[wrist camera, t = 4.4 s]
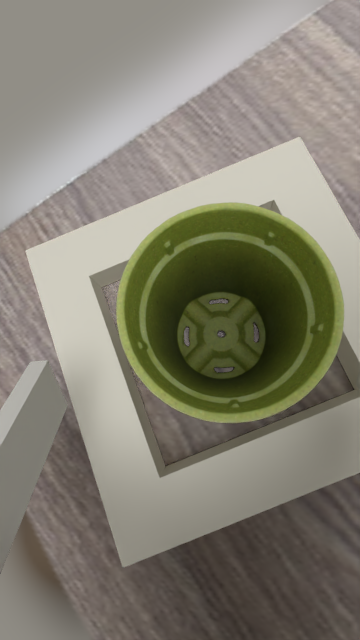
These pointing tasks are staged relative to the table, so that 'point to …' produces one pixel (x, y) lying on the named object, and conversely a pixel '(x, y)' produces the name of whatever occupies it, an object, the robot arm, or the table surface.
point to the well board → (123, 395)
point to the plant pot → (230, 312)
